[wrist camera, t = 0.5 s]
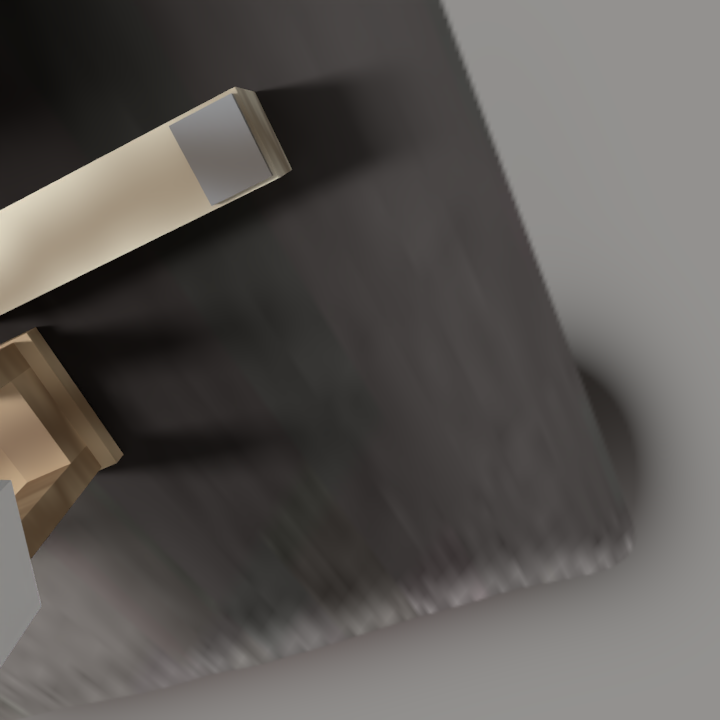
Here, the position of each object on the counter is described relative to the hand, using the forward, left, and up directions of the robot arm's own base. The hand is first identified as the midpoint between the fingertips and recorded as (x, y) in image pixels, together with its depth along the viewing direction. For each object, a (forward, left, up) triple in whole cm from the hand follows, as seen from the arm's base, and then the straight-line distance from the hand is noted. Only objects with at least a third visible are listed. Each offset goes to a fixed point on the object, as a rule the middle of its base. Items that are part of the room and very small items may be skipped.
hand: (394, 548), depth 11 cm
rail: (-8, -12, -24) cm, 28 cm away
